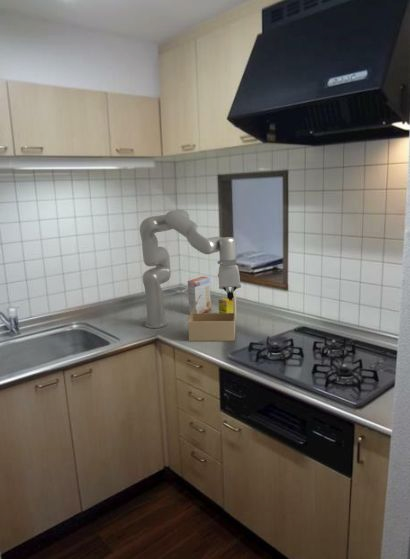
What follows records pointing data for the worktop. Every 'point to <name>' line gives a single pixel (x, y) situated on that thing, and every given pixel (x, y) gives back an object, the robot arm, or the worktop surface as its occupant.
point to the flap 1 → (193, 308)
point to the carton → (211, 327)
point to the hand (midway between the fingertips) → (230, 299)
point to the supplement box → (225, 305)
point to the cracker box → (195, 290)
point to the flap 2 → (235, 306)
